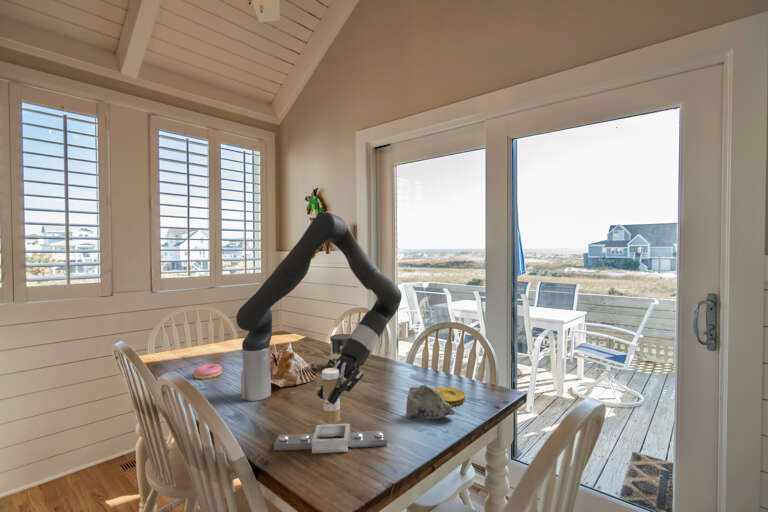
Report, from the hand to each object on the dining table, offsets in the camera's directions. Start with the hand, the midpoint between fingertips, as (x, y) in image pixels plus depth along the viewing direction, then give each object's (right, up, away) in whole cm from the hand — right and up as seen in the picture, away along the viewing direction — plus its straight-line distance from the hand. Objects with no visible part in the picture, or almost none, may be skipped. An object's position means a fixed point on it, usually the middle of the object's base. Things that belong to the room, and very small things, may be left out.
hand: (325, 399), depth 97 cm
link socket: (+2, -12, +1) cm, 12 cm away
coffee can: (-3, -12, +64) cm, 65 cm away
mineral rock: (+29, -12, +15) cm, 34 cm away
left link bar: (-8, -12, +1) cm, 15 cm away
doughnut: (-58, -13, +59) cm, 84 cm away
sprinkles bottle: (+2, -6, +1) cm, 7 cm away
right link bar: (+11, -12, +2) cm, 16 cm away
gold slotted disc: (+37, -11, +29) cm, 48 cm away
